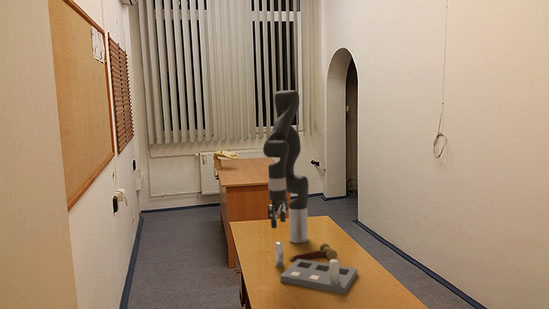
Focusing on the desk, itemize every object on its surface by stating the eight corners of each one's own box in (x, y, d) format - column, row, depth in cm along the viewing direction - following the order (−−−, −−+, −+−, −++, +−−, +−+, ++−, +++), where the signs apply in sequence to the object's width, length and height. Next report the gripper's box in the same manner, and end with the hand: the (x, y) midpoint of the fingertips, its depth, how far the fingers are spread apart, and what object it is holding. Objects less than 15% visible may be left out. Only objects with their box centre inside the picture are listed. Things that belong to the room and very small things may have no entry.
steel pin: (277, 262, 178) (276, 241, 177) (285, 264, 176) (284, 242, 175) (273, 266, 175) (273, 243, 173) (281, 267, 173) (280, 245, 172)
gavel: (292, 259, 175) (285, 250, 184) (293, 268, 176) (286, 260, 185) (337, 249, 180) (328, 242, 190) (337, 259, 181) (329, 251, 190)
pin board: (298, 264, 176) (297, 241, 175) (357, 274, 165) (357, 249, 163) (280, 281, 160) (279, 256, 159) (344, 294, 149) (344, 267, 147)
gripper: (277, 183, 178) (278, 219, 181) (261, 190, 166) (262, 229, 168) (292, 184, 175) (293, 221, 177) (277, 192, 162) (279, 231, 165)
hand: (278, 224), depth 173 cm, fingers open, 8 cm apart
